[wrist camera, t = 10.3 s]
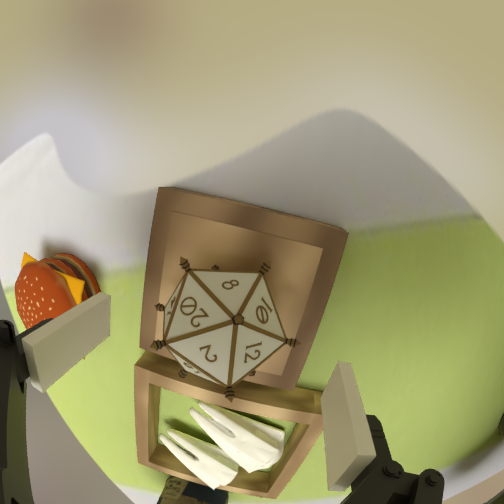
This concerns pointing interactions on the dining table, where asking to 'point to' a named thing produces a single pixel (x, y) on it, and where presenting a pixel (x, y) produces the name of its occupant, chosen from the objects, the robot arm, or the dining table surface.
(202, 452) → the white folded napkins
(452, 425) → the dining table surface
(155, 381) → the oak frame
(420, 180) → the dining table surface
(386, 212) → the dining table surface
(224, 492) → the canister
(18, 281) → the hamburger
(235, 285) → the game die
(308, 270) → the walnut board
